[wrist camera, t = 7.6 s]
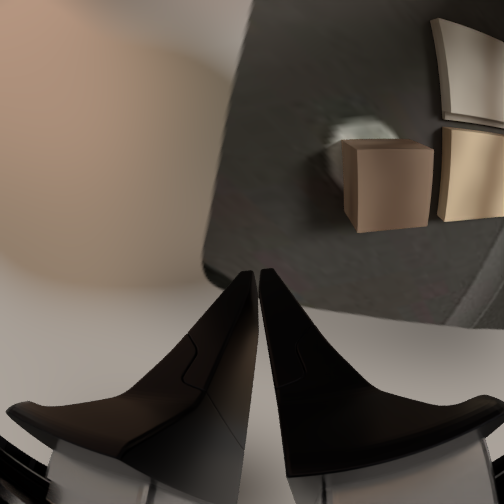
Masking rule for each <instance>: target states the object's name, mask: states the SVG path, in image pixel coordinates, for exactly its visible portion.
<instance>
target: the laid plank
mask: <svg viewBox="0 0 504 504" xmlns="http://www.w3.org/2000/svg"><path fill="white" fill-rule="evenodd" d="M430 23H431V28H432V33H433V38H434V43H435V49H436V55H437V62H438V70H439V78H440V89H441V102H442V119H445V120H454V121H462V122H469V123H476V124H482V125H488V126H494V127H499V128H504V42H502V41H500V40H498V39H496V38H493V37H491V36H489V35H486V34H484V33H481V32H479V31H476V30H474V29H471V28H468V27H466V26H463V25H460V24H457V23H454V22H451V21H447V20H444V19H441V18H436V19H433V20H430Z"/></svg>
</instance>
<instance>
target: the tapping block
mask: <svg viewBox="0 0 504 504" xmlns="http://www.w3.org/2000/svg"><path fill="white" fill-rule="evenodd" d="M341 143H342V159H343V182H344V211H345V213H346V215H347V216H348V218H349V220H350V221H351V223H352V225H353V226H354V228H355V230H356V231H357V233H362V232H372V231H382V230H392V229H403V228H413V227H423V226H427V224H428V217H429V209H430V200H431V190H432V177H433V159H434V150H433V149H431V148H429V147H427V146H424V145H422V144H420V143H417V142H415V141H412V140H410V139H350V140H341Z"/></svg>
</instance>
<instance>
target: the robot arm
mask: <svg viewBox="0 0 504 504" xmlns="http://www.w3.org/2000/svg"><path fill="white" fill-rule="evenodd" d="M259 299H260V304H261V311H262V317H263V322H264V328H265V334H266V340H267V346H268V352H269V358H270V364H271V369H272V376H273V382H274V388H275V393H276V400H277V406H278V413H279V420H280V429H281V436H282V445H283V452H284V460H285V468H286V477H287V480H288V483H289V486H290V489H291V491H292V494H293V497H294V500H295V502H296V504H504V455H503V456H501V457H500V458H498V459H496V460H495V461H493V462H491V458H490V454H489V450H488V447H487V443H486V440H485V438H486V437H487V436H489V435H490V434H491V433H492V432H493V431H494V430H496V429H497V428H498V427H499V426H500V425H502V424H503V423H504V402H503V401H501V400H499V399H497V398H495V397H492V396H489V395H480V396H477V397H474V398H472V399H469V400H467V401H465V402H462V403H459V404H456V405H450V406H438V405H432V404H427V403H424V402H420V401H416V400H412V399H408V398H405V397H401V396H397V395H394V394H390V393H387V392H384V391H381V390H379V389H377V388H376V387H374V386H372V385H371V384H370V383H369V382H367V381H366V380H365V379H364V378H363V377H362V376H361V375H360V374H359V373H358V372H357V371H356V370H355V369H354V368H353V367H352V366H351V365H350V364H349V363H348V362H347V361H346V360H345V359H344V358H343V357H342V356H341V355H340V354H339V353H338V352H337V351H336V350H335V349H334V348H333V347H332V346H331V345H330V344H329V343H328V341H327V340H326V339H325V338H324V336H323V335H322V334H321V332H320V331H319V330H318V328H317V327H316V326H315V325H314V323H313V322H312V321H311V319H310V318H309V316H308V315H307V314H306V312H305V311H304V309H303V308H302V307H301V305H300V304H299V303H298V301H297V300H296V299H295V297H294V296H293V295H292V293H291V292H290V290H289V289H288V288H287V286H286V285H285V284H284V282H283V281H282V280H281V278H280V277H279V276H278V274H277V273H276V272H275V270H274V269H273V268H268V269H262V270H261V272H260V281H259ZM258 324H259V322H258V292H257V286H256V281H255V276H254V272H253V271H252V270H250V271H241V272H240V273H239V274H238V275H237V276H236V278H235V279H234V280H233V281H232V282H231V283H230V285H229V286H228V287H227V288H226V289H225V290H224V291H223V293H222V294H221V295H220V296H219V297H218V298H217V299H216V301H215V302H214V303H213V304H212V305H211V306H210V308H209V309H208V310H207V311H206V312H205V313H204V315H203V316H202V317H201V318H200V319H199V320H198V321H197V323H196V324H195V325H194V326H193V327H192V328H191V329H190V331H189V332H188V334H186V335H185V336H184V337H183V338H182V340H181V341H180V342H179V343H178V344H177V345H176V346H175V347H174V348H173V349H172V350H171V352H169V353H168V354H167V355H166V356H165V357H164V358H163V360H161V361H160V362H159V363H158V364H157V365H156V366H155V367H154V368H153V369H152V370H150V371H149V372H148V373H147V374H146V375H145V376H144V377H143V378H142V379H141V380H139V382H137V383H136V384H135V385H134V386H133V387H131V388H130V389H129V390H128V391H126V392H125V393H123V394H121V395H119V396H116V397H113V398H108V399H102V400H97V401H91V402H85V403H79V404H72V405H65V406H41V405H38V404H36V403H33V402H30V401H27V402H21V403H17V404H15V405H12V406H11V407H9V408H8V409H7V410H6V413H7V415H8V416H9V417H10V418H11V419H12V420H13V421H15V422H16V423H17V424H18V425H20V426H21V427H22V428H23V429H25V430H26V431H27V432H28V433H30V434H31V435H32V436H34V437H35V438H37V439H38V440H39V441H41V442H42V443H44V444H45V445H47V446H48V447H50V448H51V449H53V452H52V455H51V458H50V461H49V464H48V467H47V466H45V465H44V464H42V463H40V462H38V461H36V460H35V459H33V458H32V457H30V456H29V455H27V454H26V453H24V452H23V451H21V450H20V449H18V448H17V447H15V446H14V445H12V444H11V443H9V442H8V441H7V440H6V439H4V438H3V437H2V436H0V504H237V500H238V493H239V486H240V479H241V472H242V465H243V458H244V450H245V442H246V435H247V427H248V418H249V411H250V403H251V394H252V387H253V378H254V370H255V362H256V354H257V345H258V335H259V334H258V333H259V325H258Z"/></svg>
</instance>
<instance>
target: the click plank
mask: <svg viewBox="0 0 504 504" xmlns="http://www.w3.org/2000/svg"><path fill="white" fill-rule="evenodd" d="M437 216H439V217H440V218H441V219H442V220H443V221H444V222H448V221H459V220H469V219H480V218H490V217H501V216H504V135H502V134H496V133H490V132H483V131H476V130H469V129H460V128H450V127H442V168H441V182H440V193H439V203H438V211H437Z"/></svg>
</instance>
